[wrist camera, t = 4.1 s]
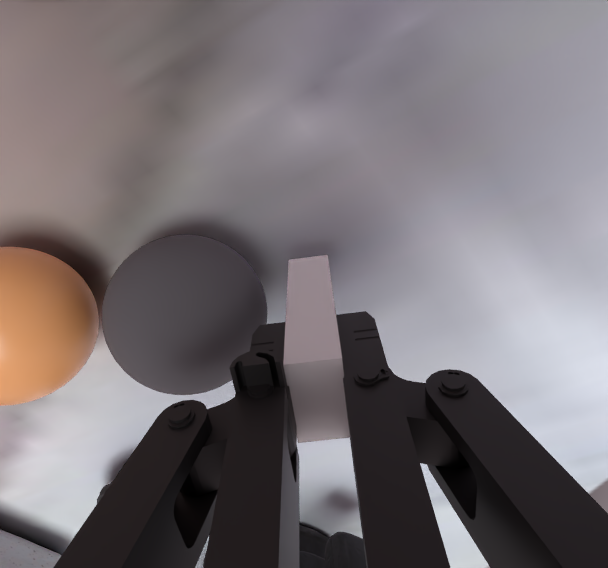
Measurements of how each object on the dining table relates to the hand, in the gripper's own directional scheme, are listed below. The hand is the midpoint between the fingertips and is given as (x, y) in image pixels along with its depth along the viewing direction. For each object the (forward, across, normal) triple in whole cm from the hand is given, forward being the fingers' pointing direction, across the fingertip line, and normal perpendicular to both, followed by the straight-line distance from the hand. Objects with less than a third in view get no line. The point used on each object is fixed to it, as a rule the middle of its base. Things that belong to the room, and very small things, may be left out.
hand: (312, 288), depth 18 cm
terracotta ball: (-1, -12, 0) cm, 12 cm away
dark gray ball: (-1, -5, 0) cm, 5 cm away
